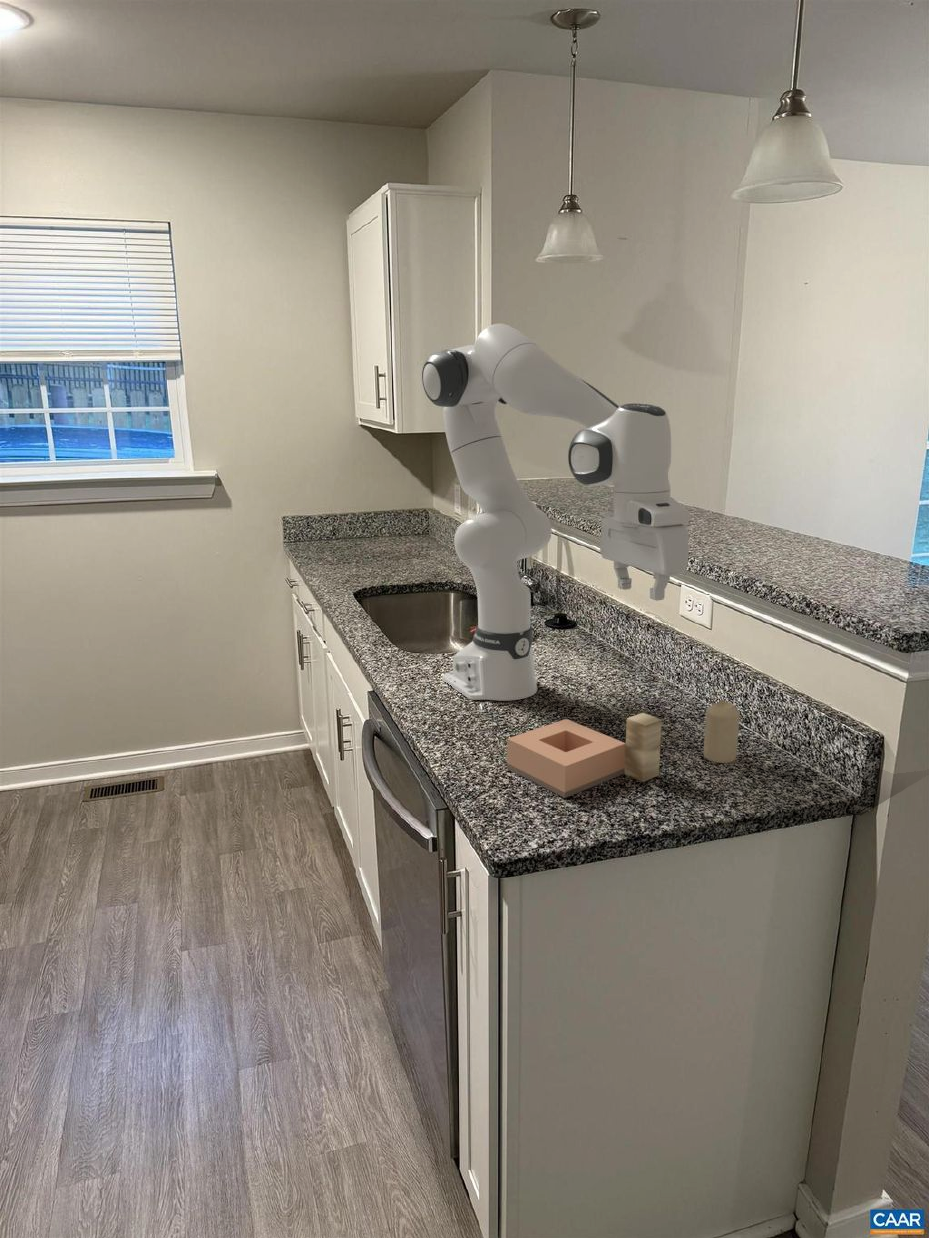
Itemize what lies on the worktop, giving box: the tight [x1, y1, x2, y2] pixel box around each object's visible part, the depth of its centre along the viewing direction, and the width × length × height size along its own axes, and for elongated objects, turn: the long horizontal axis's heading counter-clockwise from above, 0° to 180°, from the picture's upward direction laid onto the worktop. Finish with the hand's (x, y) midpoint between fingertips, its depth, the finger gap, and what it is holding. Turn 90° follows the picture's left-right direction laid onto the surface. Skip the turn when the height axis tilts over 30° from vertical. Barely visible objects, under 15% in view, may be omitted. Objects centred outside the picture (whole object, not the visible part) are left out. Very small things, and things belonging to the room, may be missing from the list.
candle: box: [703, 700, 741, 764], centre depth 146 cm, size 6×6×10 cm
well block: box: [506, 718, 626, 799], centre depth 142 cm, size 14×14×6 cm
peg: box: [623, 712, 663, 783], centre depth 140 cm, size 4×4×10 cm
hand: (640, 594), depth 137 cm, fingers open, 8 cm apart
